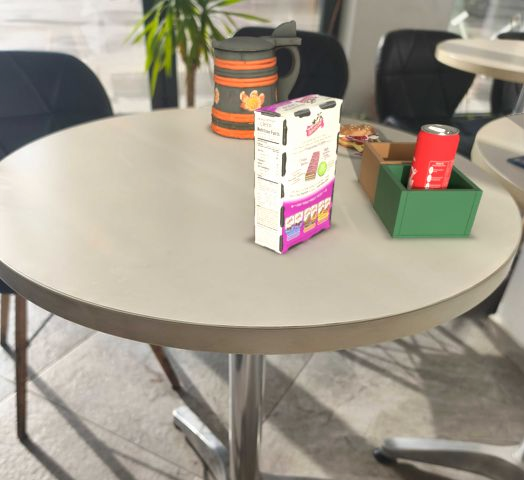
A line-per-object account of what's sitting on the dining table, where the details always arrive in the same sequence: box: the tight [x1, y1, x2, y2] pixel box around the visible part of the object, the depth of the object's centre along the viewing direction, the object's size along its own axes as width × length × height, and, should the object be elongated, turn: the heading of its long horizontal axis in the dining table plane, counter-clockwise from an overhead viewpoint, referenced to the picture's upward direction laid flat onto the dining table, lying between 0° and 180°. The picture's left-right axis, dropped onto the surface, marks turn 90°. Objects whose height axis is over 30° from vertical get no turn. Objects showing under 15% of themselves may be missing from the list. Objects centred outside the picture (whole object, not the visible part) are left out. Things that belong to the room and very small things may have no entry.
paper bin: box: [358, 141, 416, 205], centre depth 77 cm, size 10×10×7 cm
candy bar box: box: [253, 93, 344, 255], centre depth 61 cm, size 11×5×16 cm, turn 139°
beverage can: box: [407, 123, 461, 189], centre depth 66 cm, size 5×5×12 cm
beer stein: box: [210, 19, 303, 140], centre depth 102 cm, size 19×15×20 cm
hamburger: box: [338, 123, 382, 157], centre depth 96 cm, size 14×14×6 cm
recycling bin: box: [372, 164, 484, 239], centre depth 68 cm, size 11×11×7 cm
